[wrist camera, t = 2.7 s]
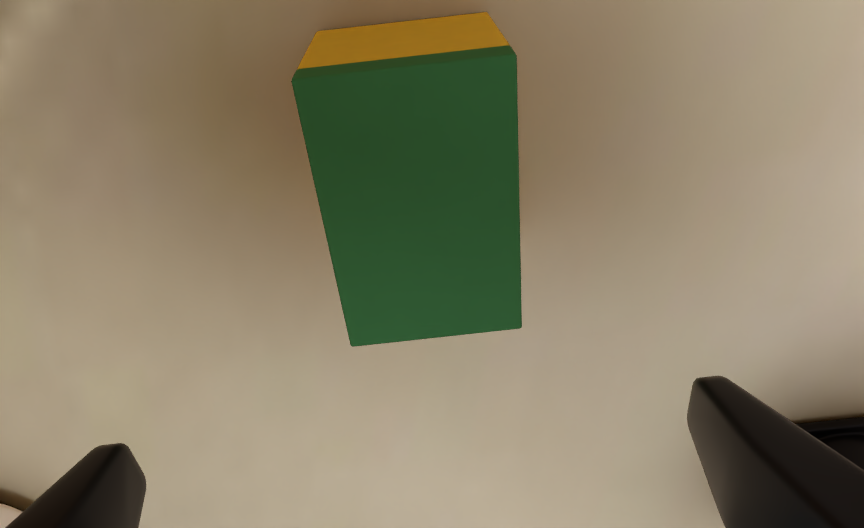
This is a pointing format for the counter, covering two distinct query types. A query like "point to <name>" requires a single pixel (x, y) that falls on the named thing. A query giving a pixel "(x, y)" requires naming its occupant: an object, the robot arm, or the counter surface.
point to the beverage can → (7, 515)
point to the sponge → (417, 174)
